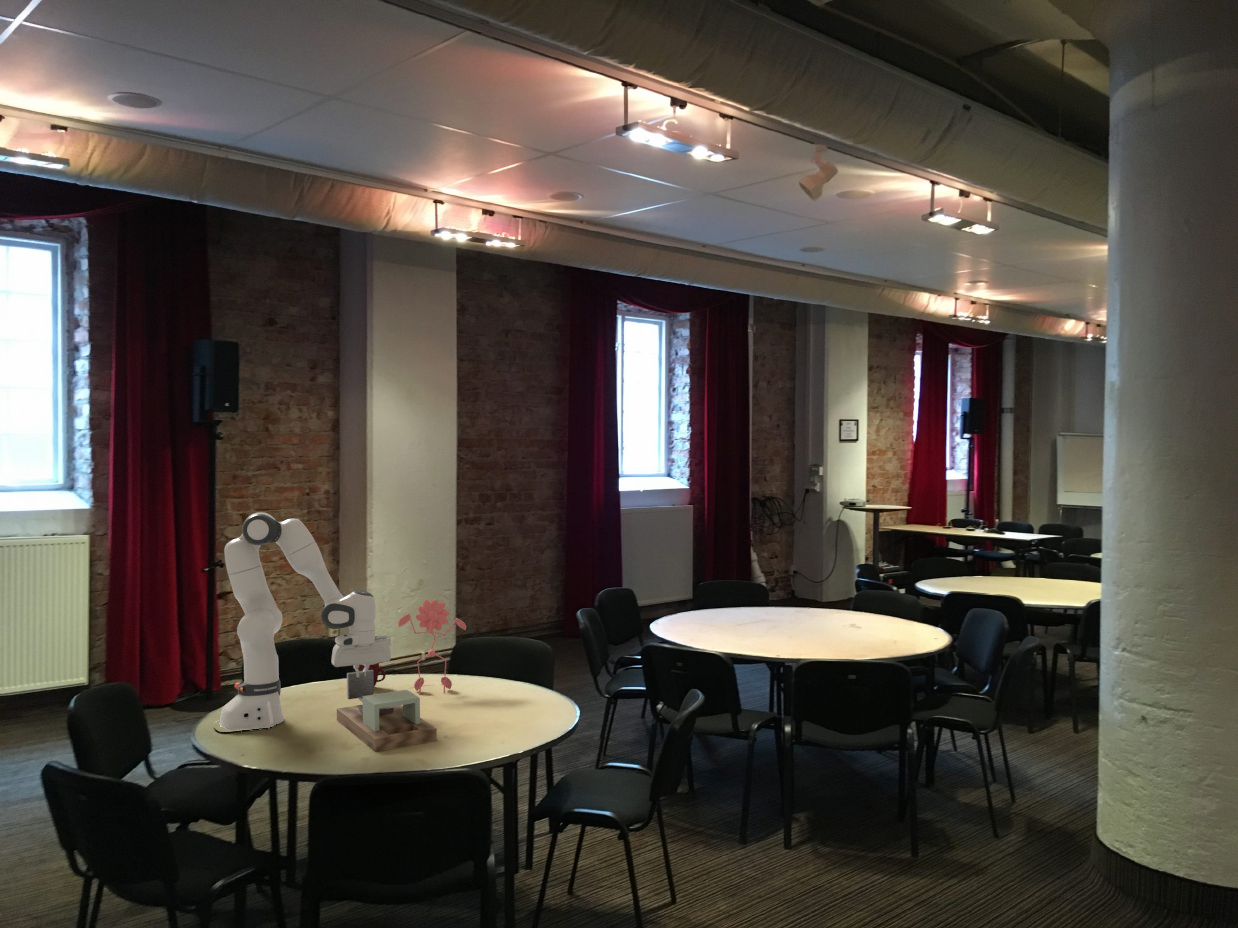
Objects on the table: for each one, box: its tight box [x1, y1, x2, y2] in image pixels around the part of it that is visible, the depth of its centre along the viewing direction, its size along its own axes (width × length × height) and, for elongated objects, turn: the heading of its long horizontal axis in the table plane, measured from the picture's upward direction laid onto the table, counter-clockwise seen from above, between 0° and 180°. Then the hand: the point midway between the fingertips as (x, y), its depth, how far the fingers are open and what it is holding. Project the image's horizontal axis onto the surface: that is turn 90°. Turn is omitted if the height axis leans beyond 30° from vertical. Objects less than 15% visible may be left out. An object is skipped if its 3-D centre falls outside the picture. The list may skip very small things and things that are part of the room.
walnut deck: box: [336, 704, 438, 753], centre depth 320 cm, size 20×41×4 cm, turn 32°
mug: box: [358, 663, 387, 688], centre depth 375 cm, size 11×8×10 cm
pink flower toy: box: [398, 599, 467, 695], centre depth 372 cm, size 15×26×35 cm, turn 96°
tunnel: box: [362, 689, 421, 731], centre depth 314 cm, size 15×12×8 cm
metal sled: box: [346, 670, 394, 715], centre depth 333 cm, size 9×22×10 cm, turn 32°
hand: (361, 676), depth 338 cm, fingers closed
